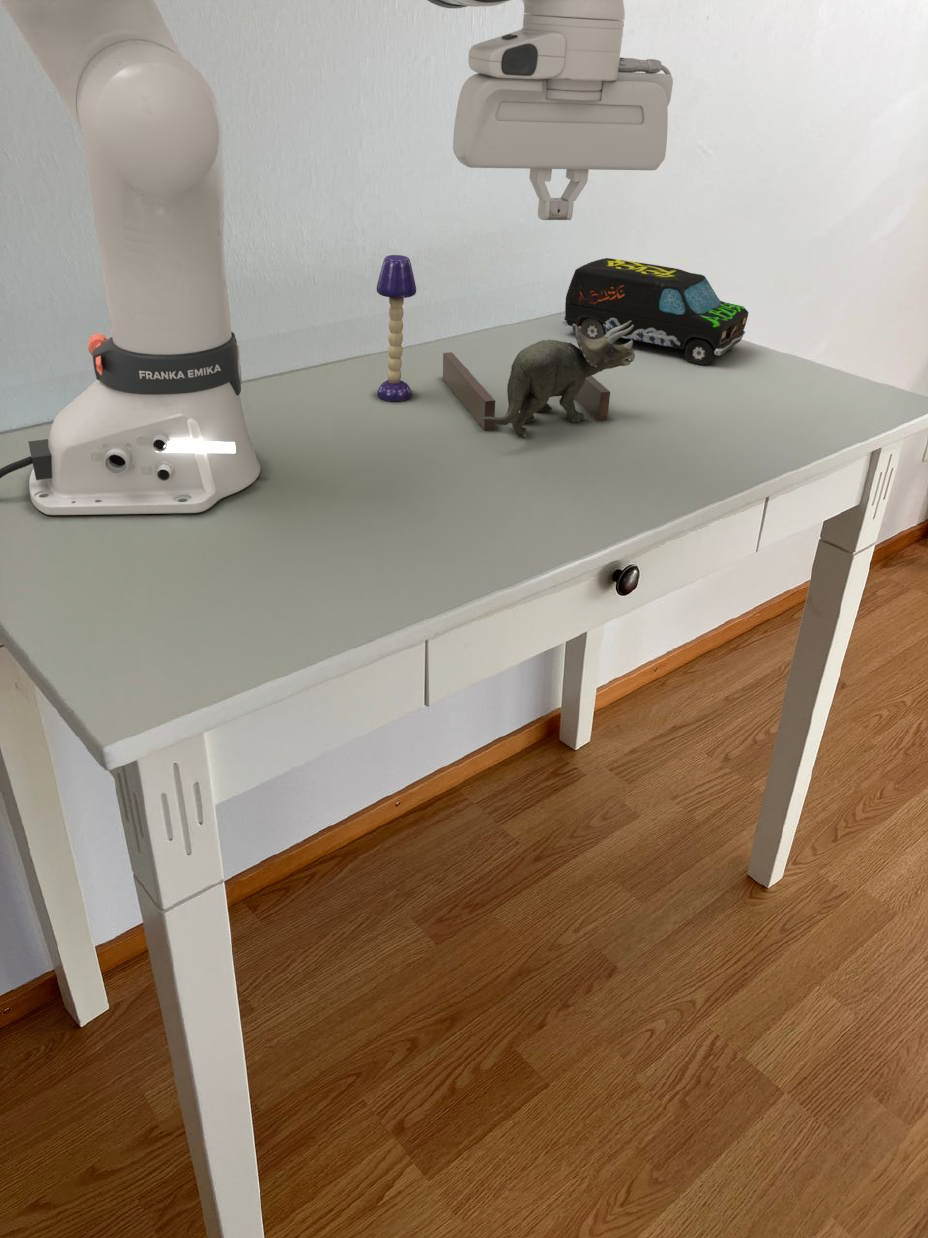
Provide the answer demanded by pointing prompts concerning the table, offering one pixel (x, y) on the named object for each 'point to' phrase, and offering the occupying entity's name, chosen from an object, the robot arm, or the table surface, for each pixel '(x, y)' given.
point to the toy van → (653, 307)
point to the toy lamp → (395, 321)
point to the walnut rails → (483, 404)
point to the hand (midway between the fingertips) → (554, 218)
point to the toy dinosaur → (559, 374)
